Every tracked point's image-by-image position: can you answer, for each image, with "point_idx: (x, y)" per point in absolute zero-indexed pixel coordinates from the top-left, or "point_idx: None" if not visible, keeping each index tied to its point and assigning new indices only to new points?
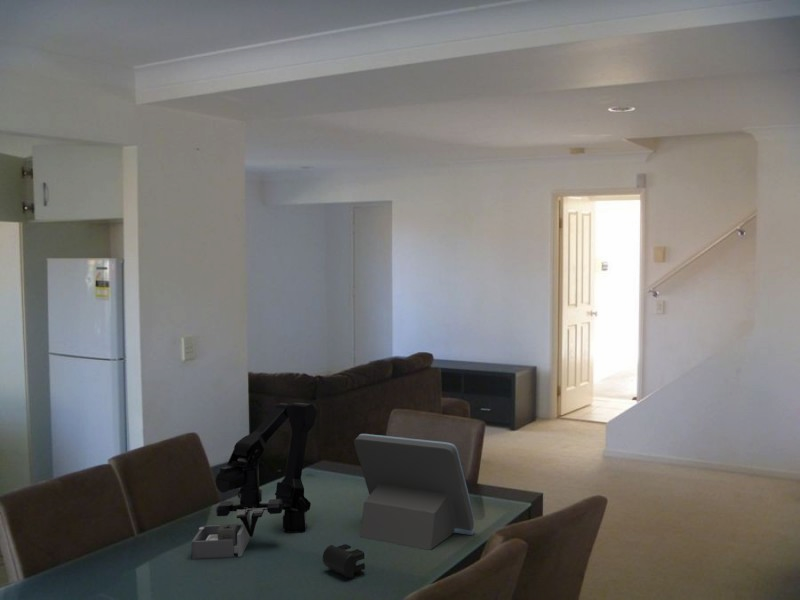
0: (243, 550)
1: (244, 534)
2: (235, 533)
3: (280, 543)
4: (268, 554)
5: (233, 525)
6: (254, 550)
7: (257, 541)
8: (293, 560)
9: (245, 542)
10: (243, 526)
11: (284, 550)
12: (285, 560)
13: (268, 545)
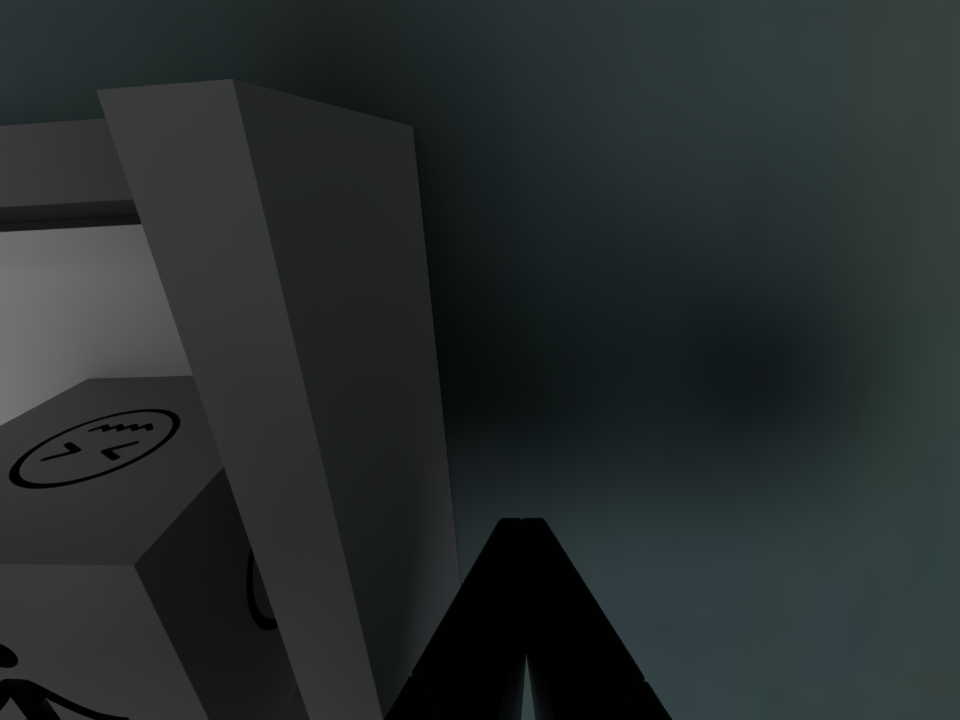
0: (454, 553)
1: (417, 605)
2: (280, 677)
3: (884, 301)
4: (715, 587)
5: (93, 643)
6: (558, 487)
7: (546, 194)
8: (937, 710)
9: (435, 467)
10: (357, 712)
11: (897, 517)
12: (866, 703)
13: (713, 359)
